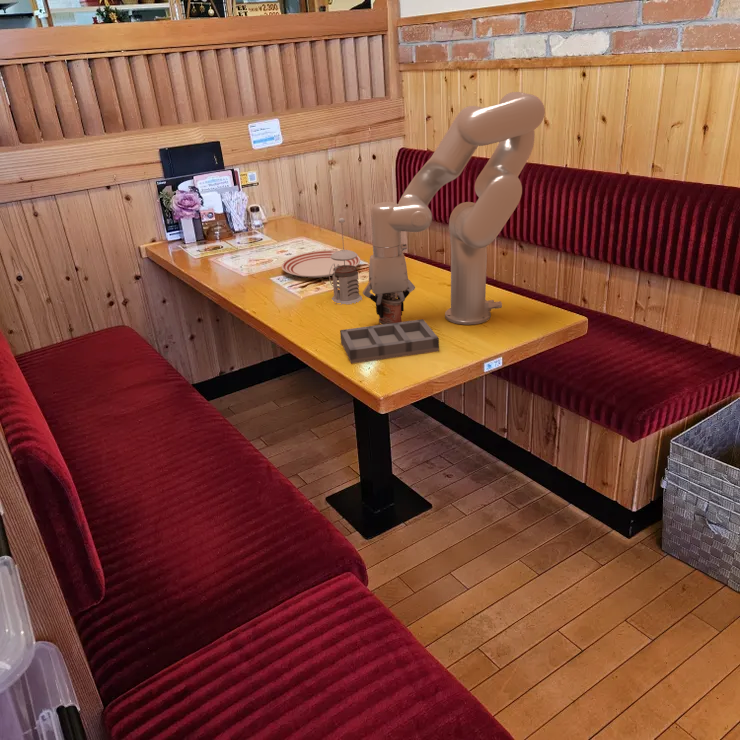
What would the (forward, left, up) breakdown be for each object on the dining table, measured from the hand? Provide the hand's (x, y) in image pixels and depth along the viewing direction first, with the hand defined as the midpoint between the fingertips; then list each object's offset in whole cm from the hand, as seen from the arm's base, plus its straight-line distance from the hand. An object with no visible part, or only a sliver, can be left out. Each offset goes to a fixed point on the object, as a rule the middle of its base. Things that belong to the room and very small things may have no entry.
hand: (390, 314), depth 184 cm
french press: (+8, -24, -3) cm, 26 cm away
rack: (+4, +14, -3) cm, 15 cm away
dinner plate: (+10, -57, -3) cm, 58 cm away
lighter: (0, 0, -3) cm, 3 cm away
